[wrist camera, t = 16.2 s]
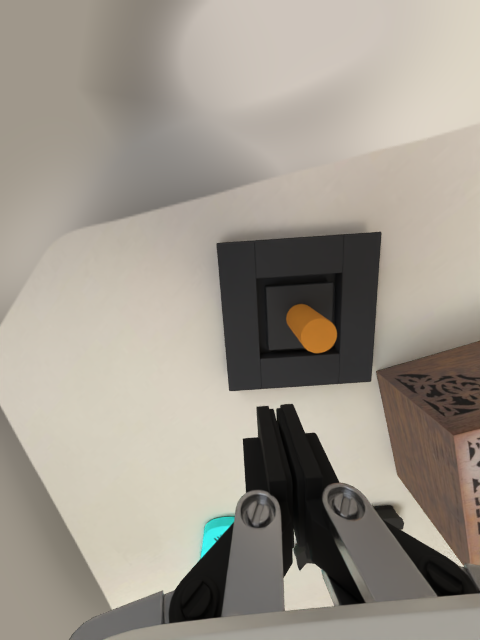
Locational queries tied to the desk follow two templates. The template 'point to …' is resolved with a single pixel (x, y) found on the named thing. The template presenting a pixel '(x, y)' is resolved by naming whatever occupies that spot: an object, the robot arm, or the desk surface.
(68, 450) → the desk surface
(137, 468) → the desk surface
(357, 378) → the base pad
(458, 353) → the tissue box cover
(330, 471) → the robot arm
